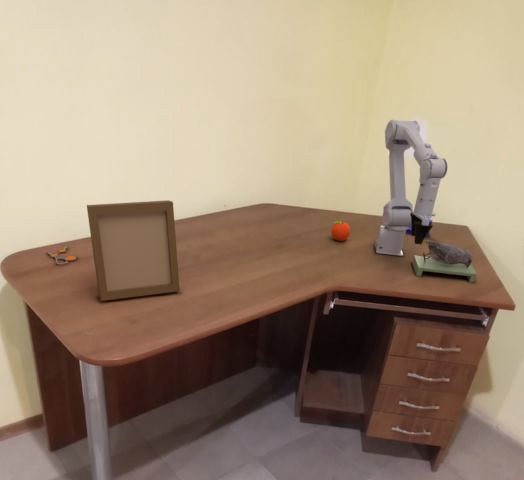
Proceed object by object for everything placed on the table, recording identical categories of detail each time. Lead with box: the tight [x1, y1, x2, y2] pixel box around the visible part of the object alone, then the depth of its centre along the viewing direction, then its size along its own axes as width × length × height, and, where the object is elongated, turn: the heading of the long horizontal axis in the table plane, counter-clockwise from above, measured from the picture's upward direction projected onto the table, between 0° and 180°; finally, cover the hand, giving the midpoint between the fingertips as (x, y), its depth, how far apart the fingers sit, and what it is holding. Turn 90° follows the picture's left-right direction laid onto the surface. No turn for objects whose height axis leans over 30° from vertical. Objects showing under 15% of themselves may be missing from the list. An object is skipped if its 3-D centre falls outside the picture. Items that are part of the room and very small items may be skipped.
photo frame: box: [86, 200, 181, 302], centre depth 143 cm, size 15×22×25 cm
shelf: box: [411, 254, 478, 283], centre depth 175 cm, size 19×10×3 cm, turn 85°
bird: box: [422, 239, 474, 268], centre depth 172 cm, size 5×16×8 cm, turn 79°
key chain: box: [46, 245, 77, 265], centre depth 163 cm, size 13×7×1 cm, turn 31°
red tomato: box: [328, 220, 351, 242], centre depth 191 cm, size 8×7×7 cm
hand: (416, 239), depth 171 cm, fingers open, 7 cm apart
